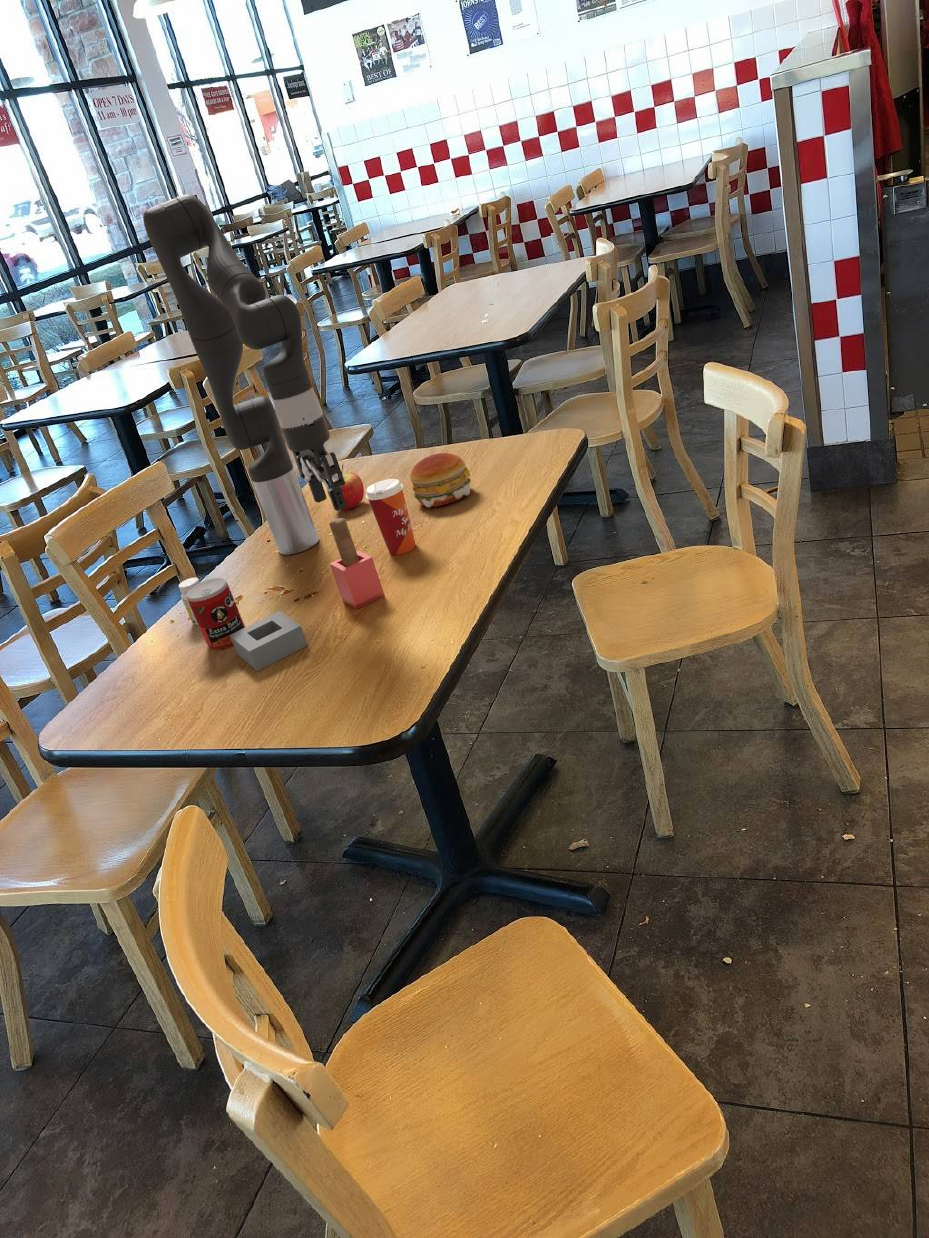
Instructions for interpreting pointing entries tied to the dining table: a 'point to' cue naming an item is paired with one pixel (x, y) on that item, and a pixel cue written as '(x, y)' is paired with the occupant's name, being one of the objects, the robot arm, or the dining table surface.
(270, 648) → the holder
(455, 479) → the burger
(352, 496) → the apple
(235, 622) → the canned food
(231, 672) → the dining table surface
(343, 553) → the dowel
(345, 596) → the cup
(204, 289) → the robot arm
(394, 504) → the paper cup
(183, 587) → the supplement bottle
